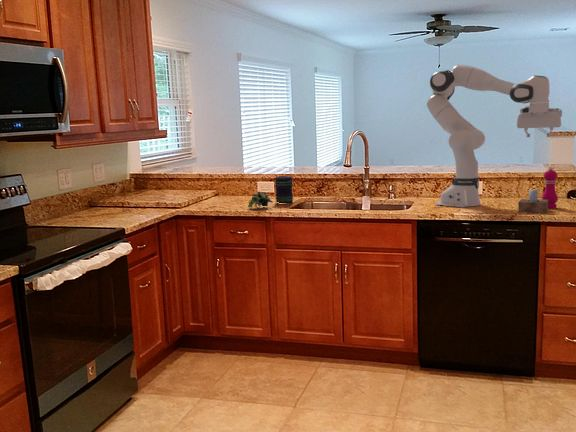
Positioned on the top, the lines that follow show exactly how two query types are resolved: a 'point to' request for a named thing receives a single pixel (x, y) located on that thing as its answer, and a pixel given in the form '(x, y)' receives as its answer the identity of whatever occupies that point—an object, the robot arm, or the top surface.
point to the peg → (533, 195)
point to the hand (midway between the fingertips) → (538, 137)
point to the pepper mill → (550, 188)
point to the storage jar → (284, 189)
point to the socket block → (533, 206)
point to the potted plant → (259, 199)
